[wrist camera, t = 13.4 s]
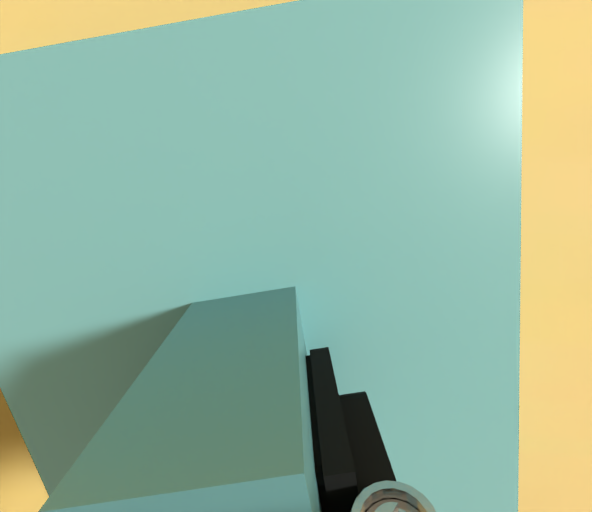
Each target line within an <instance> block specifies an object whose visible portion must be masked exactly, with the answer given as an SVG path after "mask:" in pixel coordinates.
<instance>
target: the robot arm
mask: <svg viewBox="0 0 592 512" xmlns="http://www.w3.org/2000/svg"><path fill="white" fill-rule="evenodd" d="M306 368H307V380H308V392H309V404H310V416H311V427H312V439H313V451H314V463H315V472H316V480H317V486H318V492H319V498H320V503H321V508H322V512H436V511H435V509H434V507H433V505H432V504H431V503H430V501H429V500H428V499H427V498H426V497H425V496H424V495H423V494H422V493H421V492H419V491H418V490H416V489H415V488H414V487H412V486H410V485H407V484H404V483H402V482H399V481H396V478H395V475H394V472H393V469H392V466H391V463H390V460H389V457H388V455H387V452H386V449H385V446H384V443H383V440H382V437H381V434H380V431H379V428H378V425H377V422H376V419H375V417H374V414H373V411H372V408H371V405H370V402H369V399H368V396H367V394H366V392H365V391H363V392H356V393H350V394H343V395H339V393H338V389H337V384H336V380H335V375H334V370H333V366H332V361H331V356H330V352H329V347H325V348H318V349H312V350H310V355H307V356H306Z"/></svg>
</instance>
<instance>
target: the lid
mask: <svg viewBox="0 0 592 512" xmlns="http://www.w3.org/2000/svg"><path fill="white" fill-rule="evenodd" d="M522 59H523V0H299V1H293V2H288V3H282V4H276V5H271V6H265V7H260V8H254V9H249V10H243V11H238V12H232V13H227V14H221V15H216V16H210V17H205V18H199V19H194V20H188V21H182V22H177V23H171V24H166V25H160V26H155V27H149V28H144V29H138V30H133V31H127V32H122V33H116V34H111V35H105V36H99V37H94V38H88V39H83V40H77V41H72V42H66V43H61V44H55V45H50V46H44V47H39V48H33V49H28V50H22V51H17V52H11V53H5V54H0V389H1V391H2V393H3V395H4V397H5V400H6V402H7V404H8V406H9V409H10V411H11V413H12V415H13V417H14V420H15V422H16V424H17V426H18V428H19V431H20V433H21V435H22V437H23V440H24V442H25V444H26V446H27V448H28V451H29V453H30V455H31V457H32V459H33V462H34V464H35V466H36V468H37V470H38V473H39V475H40V477H41V479H42V482H43V484H44V486H45V488H46V490H47V493H48V495H49V498H48V499H47V501H46V502H45V504H44V505H43V506H42V508H41V509H40V510H39V512H322V508H321V503H320V498H319V492H318V486H317V480H316V472H315V463H314V451H313V439H312V427H311V416H310V404H309V392H308V380H307V368H306V356H307V355H310V350H312V349H318V348H325V347H329V352H330V356H331V361H332V366H333V370H334V375H335V380H336V384H337V389H338V393H339V395H343V394H350V393H356V392H363V391H365V392H366V394H367V396H368V399H369V402H370V405H371V408H372V411H373V414H374V417H375V419H376V422H377V425H378V428H379V431H380V434H381V437H382V440H383V443H384V446H385V449H386V452H387V455H388V457H389V460H390V463H391V466H392V469H393V472H394V475H395V478H396V481H399V482H402V483H404V484H407V485H410V486H412V487H414V488H415V489H416V490H418V491H419V492H421V493H422V494H423V495H424V496H425V497H426V498H427V499H428V500H429V501H430V503H431V504H432V505H433V507H434V509H435V511H436V512H518V452H519V354H520V256H521V157H522Z"/></svg>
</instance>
